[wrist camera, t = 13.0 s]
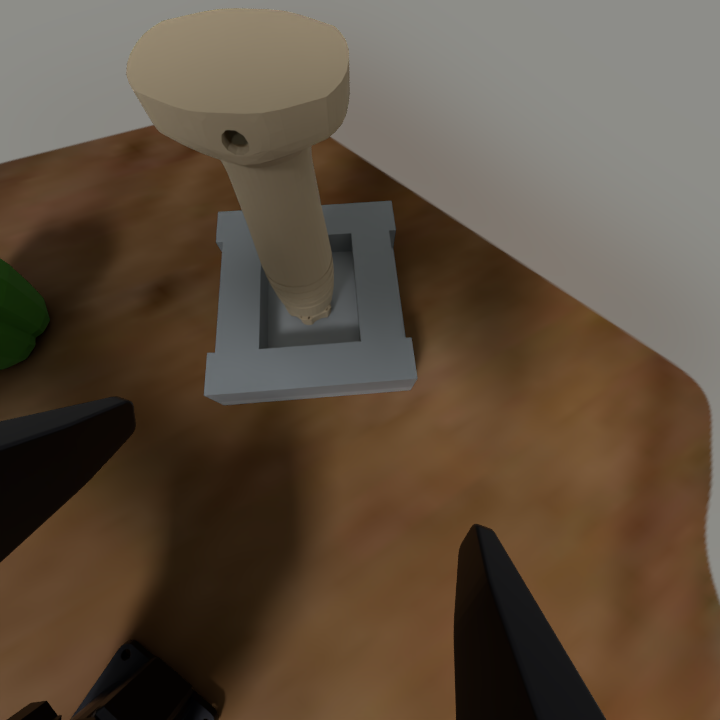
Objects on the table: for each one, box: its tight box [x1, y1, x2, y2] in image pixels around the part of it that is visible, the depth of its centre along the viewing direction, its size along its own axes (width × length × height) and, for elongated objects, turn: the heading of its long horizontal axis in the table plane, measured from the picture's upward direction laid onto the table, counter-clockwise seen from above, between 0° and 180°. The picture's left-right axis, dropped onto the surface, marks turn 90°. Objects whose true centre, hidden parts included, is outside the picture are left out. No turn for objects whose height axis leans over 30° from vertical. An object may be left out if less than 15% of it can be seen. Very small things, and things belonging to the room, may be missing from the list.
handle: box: [126, 8, 350, 325], centre depth 16 cm, size 5×6×15 cm
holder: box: [204, 201, 417, 405], centre depth 23 cm, size 14×13×3 cm
